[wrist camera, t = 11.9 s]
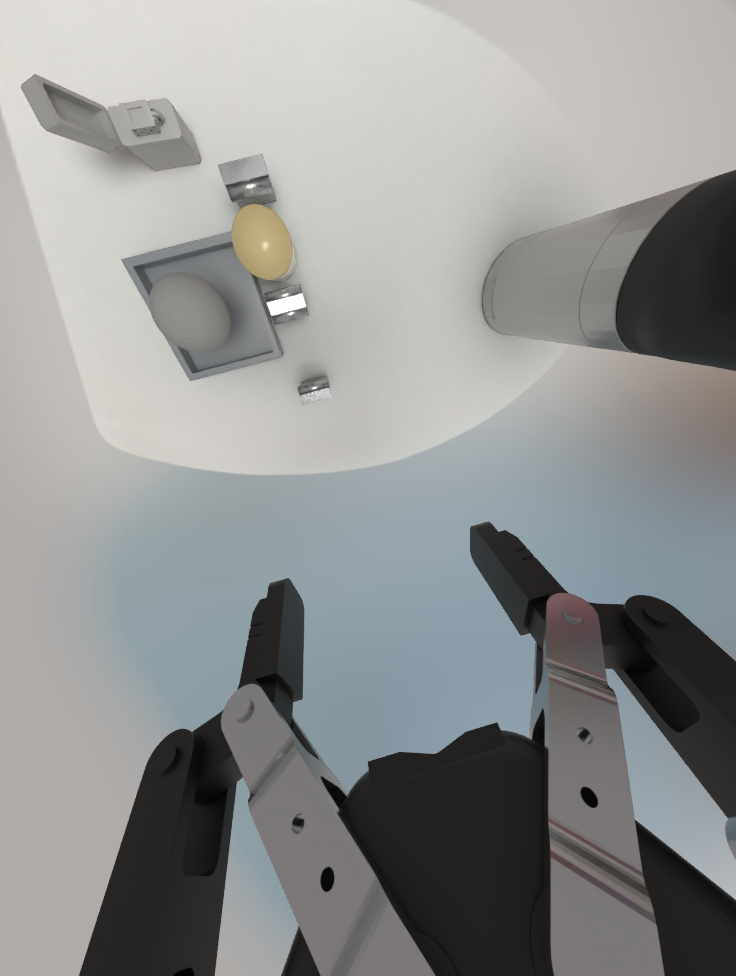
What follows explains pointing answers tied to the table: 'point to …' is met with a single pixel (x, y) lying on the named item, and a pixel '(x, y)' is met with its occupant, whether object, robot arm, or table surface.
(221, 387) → the table surface
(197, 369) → the tray
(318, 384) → the clip block
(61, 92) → the lighter
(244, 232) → the cream domed cylinder
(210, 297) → the light bulb
